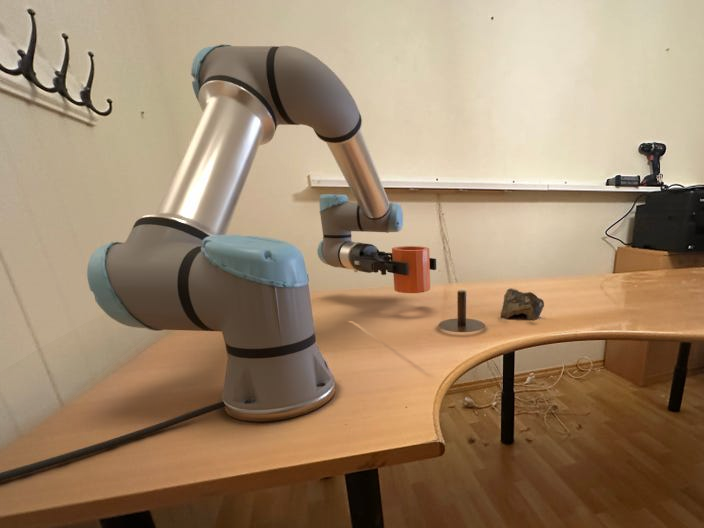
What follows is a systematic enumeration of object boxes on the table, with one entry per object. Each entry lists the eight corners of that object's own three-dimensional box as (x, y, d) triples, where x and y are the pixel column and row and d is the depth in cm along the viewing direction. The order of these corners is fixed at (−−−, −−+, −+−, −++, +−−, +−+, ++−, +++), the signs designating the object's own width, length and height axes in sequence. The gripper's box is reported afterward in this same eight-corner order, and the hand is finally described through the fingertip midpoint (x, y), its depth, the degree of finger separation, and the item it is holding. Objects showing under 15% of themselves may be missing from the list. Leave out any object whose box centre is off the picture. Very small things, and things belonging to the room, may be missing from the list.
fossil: (541, 311, 108) (546, 282, 101) (541, 335, 103) (546, 307, 95) (501, 308, 109) (503, 279, 101) (499, 332, 103) (501, 303, 96)
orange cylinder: (404, 294, 95) (401, 251, 91) (388, 288, 102) (385, 247, 98) (436, 290, 100) (435, 249, 96) (419, 284, 106) (418, 245, 103)
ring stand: (454, 339, 88) (454, 298, 84) (429, 326, 96) (428, 289, 93) (494, 331, 94) (495, 293, 90) (467, 319, 102) (468, 284, 99)
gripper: (392, 266, 118) (450, 276, 106) (327, 276, 102) (388, 289, 90) (390, 240, 115) (450, 246, 103) (324, 246, 99) (386, 255, 87)
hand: (421, 266), depth 97 cm, fingers closed on orange cylinder, 9 cm apart
